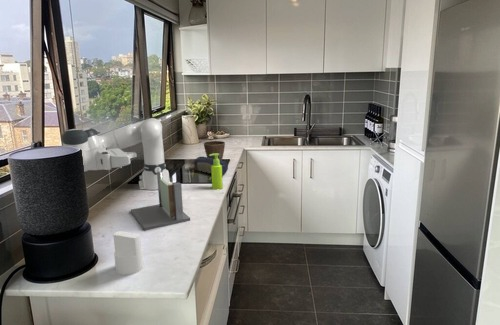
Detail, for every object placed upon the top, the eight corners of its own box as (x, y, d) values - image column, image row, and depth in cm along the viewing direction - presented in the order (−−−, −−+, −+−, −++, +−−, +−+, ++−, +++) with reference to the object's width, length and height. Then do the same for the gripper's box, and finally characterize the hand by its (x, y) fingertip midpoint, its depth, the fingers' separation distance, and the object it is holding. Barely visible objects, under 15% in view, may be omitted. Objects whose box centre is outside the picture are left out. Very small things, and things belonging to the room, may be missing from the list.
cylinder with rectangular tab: (110, 272, 118) (106, 238, 116) (128, 259, 127) (124, 227, 124) (132, 277, 115) (129, 242, 112) (149, 263, 123) (146, 230, 121)
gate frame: (130, 211, 171) (127, 174, 167) (171, 204, 181) (169, 168, 176) (144, 230, 150) (141, 188, 146) (190, 220, 160) (188, 180, 155)
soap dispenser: (209, 187, 206) (207, 153, 202) (220, 186, 209) (219, 152, 204) (212, 190, 201) (210, 155, 196) (224, 188, 204) (222, 154, 199)
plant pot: (216, 168, 249) (216, 145, 245) (200, 165, 257) (199, 143, 253) (229, 163, 261) (229, 142, 257) (213, 161, 269) (212, 140, 265)
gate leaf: (161, 206, 173) (159, 177, 169) (164, 205, 173) (162, 176, 170) (171, 217, 159) (169, 185, 156) (174, 216, 160) (172, 185, 156)
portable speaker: (192, 171, 242) (191, 157, 239) (203, 168, 249) (202, 154, 247) (218, 178, 226) (218, 162, 224) (229, 174, 233) (229, 159, 231)
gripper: (98, 161, 159) (130, 157, 166) (107, 171, 142) (142, 166, 149) (96, 147, 157) (129, 143, 164) (105, 155, 140) (141, 151, 148)
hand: (135, 154), depth 157 cm, fingers closed
